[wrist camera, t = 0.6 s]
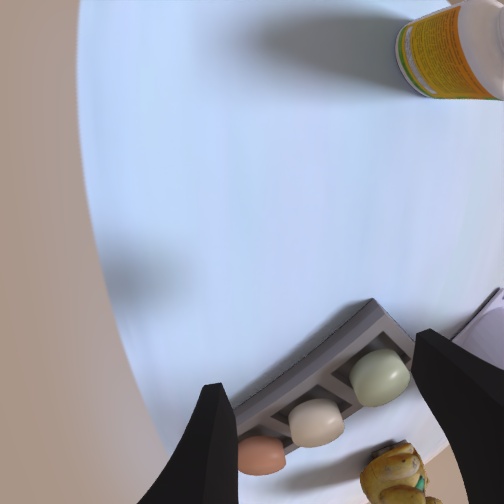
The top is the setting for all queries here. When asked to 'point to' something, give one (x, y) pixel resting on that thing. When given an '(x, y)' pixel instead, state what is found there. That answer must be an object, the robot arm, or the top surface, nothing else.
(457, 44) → the supplement bottle
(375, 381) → the sage button
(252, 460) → the terracotta button
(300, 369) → the panel
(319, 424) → the ivory button
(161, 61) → the top surface
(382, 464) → the decorative figurine
